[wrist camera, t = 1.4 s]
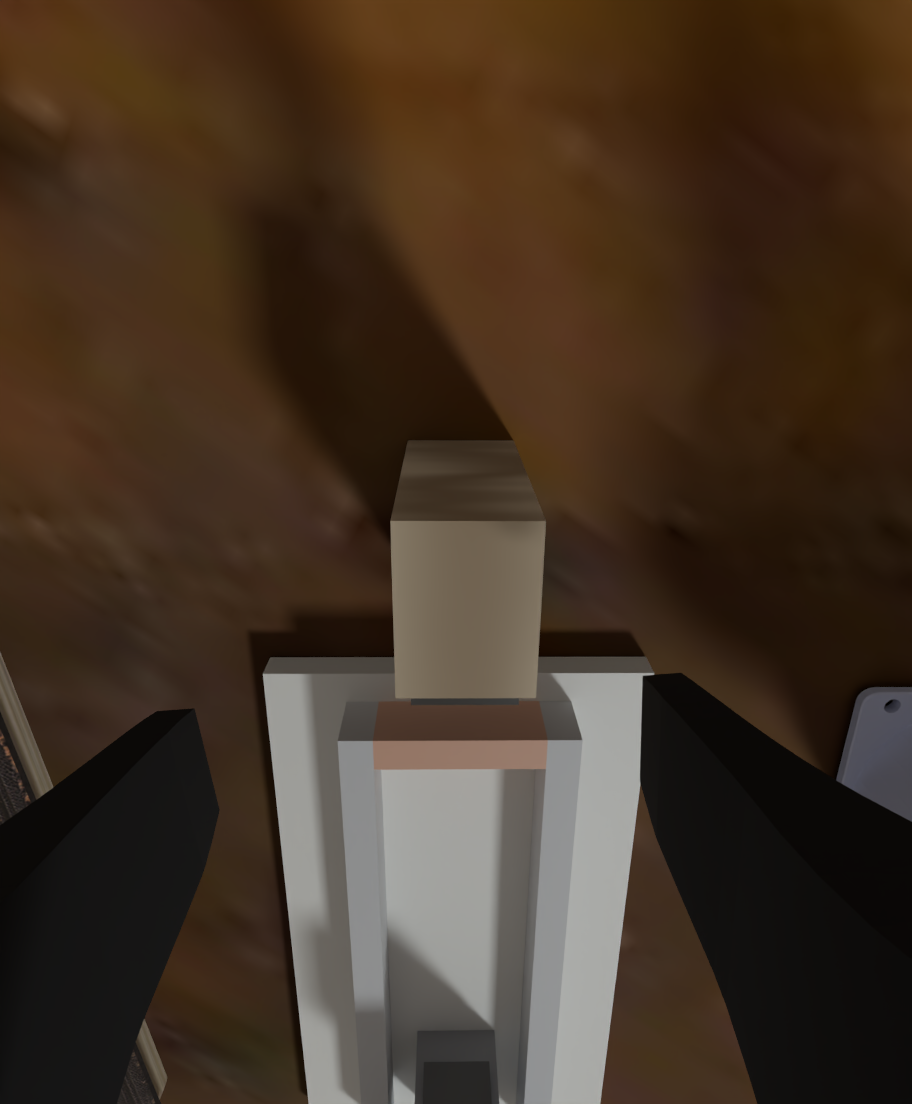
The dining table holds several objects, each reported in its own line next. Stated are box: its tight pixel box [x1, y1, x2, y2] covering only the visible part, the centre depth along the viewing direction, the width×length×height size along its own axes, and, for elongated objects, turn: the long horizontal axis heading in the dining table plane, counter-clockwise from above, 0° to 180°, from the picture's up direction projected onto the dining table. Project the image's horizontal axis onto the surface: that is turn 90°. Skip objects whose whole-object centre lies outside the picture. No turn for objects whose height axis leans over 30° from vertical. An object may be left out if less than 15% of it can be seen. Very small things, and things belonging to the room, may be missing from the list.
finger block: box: [390, 440, 546, 705], centre depth 18 cm, size 3×4×7 cm, turn 179°
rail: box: [263, 657, 654, 1104], centre depth 23 cm, size 12×22×8 cm, turn 0°
